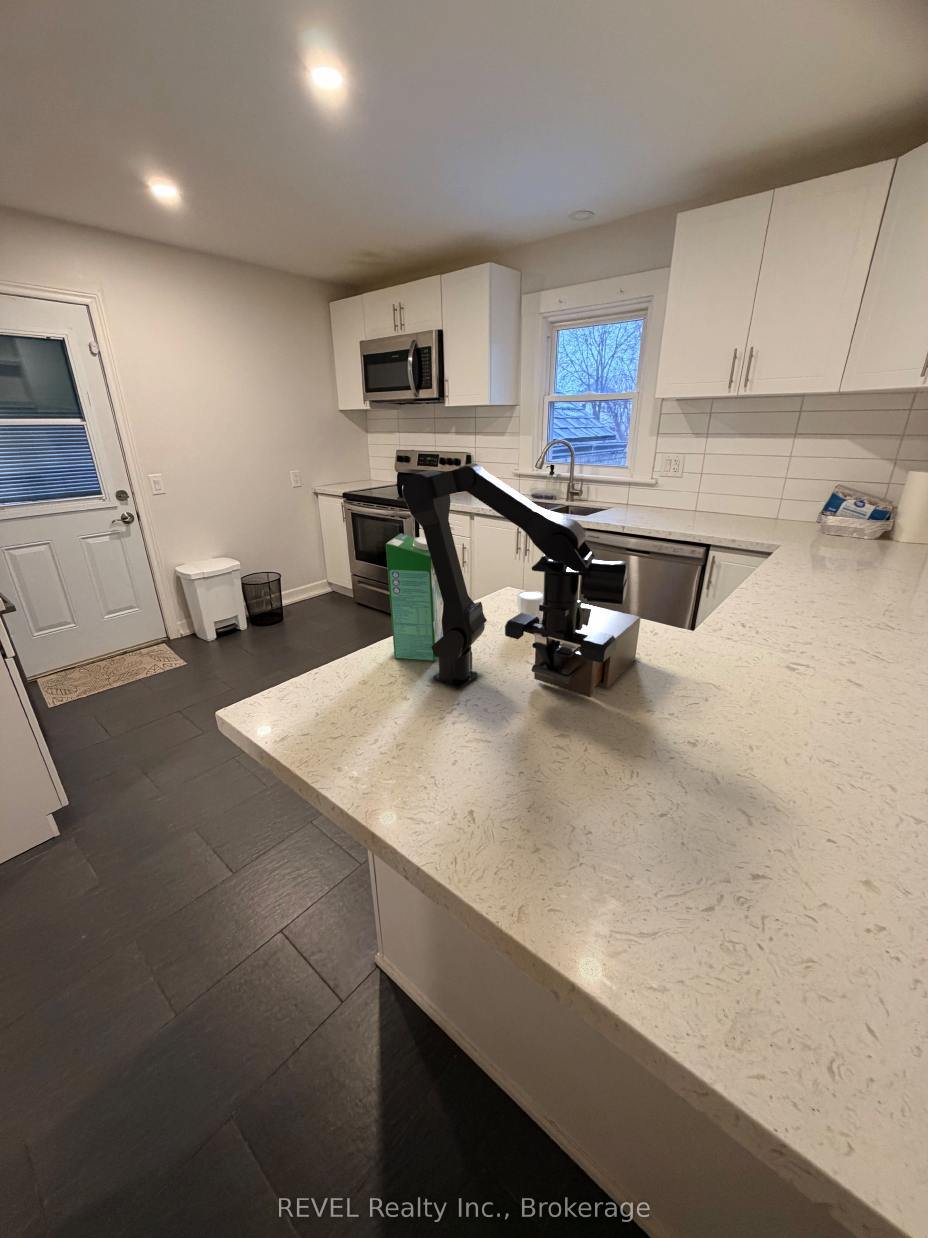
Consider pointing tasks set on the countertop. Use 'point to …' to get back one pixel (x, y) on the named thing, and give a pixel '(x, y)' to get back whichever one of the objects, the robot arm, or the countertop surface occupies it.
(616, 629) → the cabinet
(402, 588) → the milk carton
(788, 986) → the countertop surface
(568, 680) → the drawer
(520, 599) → the white cup
